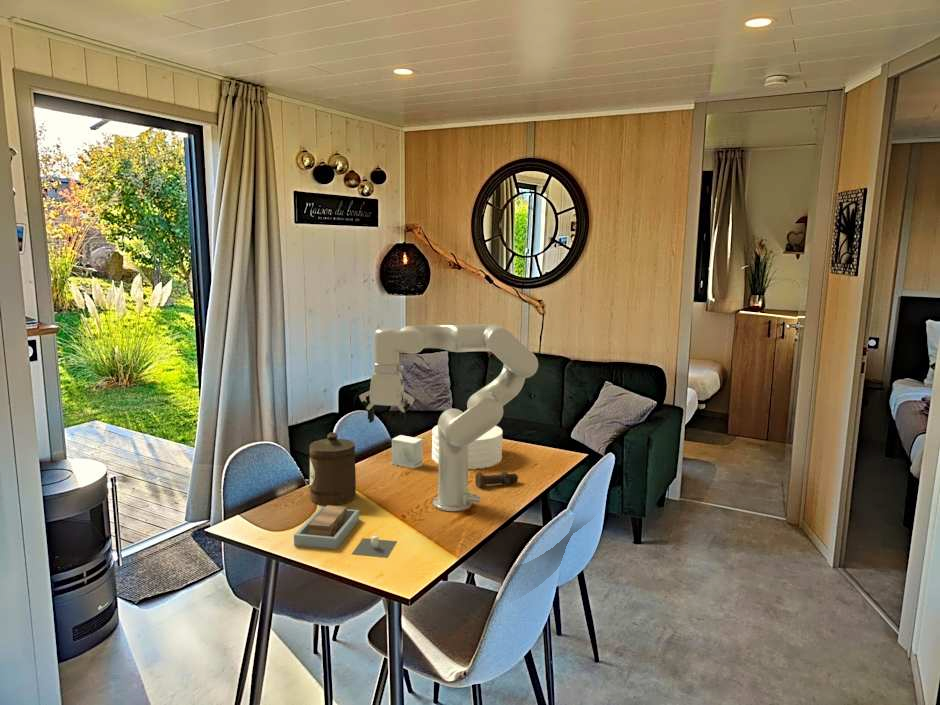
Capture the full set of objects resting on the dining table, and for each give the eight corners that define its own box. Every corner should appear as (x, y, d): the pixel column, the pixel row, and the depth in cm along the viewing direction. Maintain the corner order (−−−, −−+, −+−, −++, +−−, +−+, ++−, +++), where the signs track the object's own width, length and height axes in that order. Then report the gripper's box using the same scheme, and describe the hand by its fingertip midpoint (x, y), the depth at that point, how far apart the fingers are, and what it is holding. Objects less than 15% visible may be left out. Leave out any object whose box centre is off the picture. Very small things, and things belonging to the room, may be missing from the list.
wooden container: (320, 487, 225) (319, 425, 222) (361, 491, 223) (361, 428, 219) (302, 503, 211) (301, 437, 207) (346, 507, 208) (345, 441, 205)
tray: (359, 522, 197) (359, 510, 196) (336, 552, 177) (335, 538, 177) (321, 519, 199) (321, 506, 198) (294, 548, 179) (293, 534, 179)
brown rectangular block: (329, 543, 181) (329, 526, 180) (309, 541, 181) (308, 524, 181) (346, 522, 194) (346, 506, 193) (327, 521, 195) (327, 505, 194)
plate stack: (475, 443, 280) (476, 417, 279) (515, 461, 258) (516, 433, 256) (418, 453, 265) (419, 426, 263) (456, 474, 242) (457, 444, 240)
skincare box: (391, 465, 250) (391, 438, 248) (400, 460, 256) (400, 434, 254) (414, 469, 245) (414, 442, 244) (423, 464, 251) (423, 438, 249)
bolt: (516, 488, 233) (477, 491, 228) (512, 477, 237) (473, 480, 232) (521, 477, 230) (481, 480, 225) (516, 467, 234) (477, 469, 228)
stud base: (397, 544, 183) (397, 531, 182) (387, 561, 173) (387, 547, 173) (362, 541, 184) (362, 528, 184) (351, 557, 175) (351, 543, 174)
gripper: (416, 368, 203) (416, 421, 206) (363, 365, 206) (363, 418, 208) (411, 372, 196) (410, 427, 199) (355, 369, 198) (356, 424, 201)
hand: (386, 422), depth 203 cm, fingers open, 9 cm apart
